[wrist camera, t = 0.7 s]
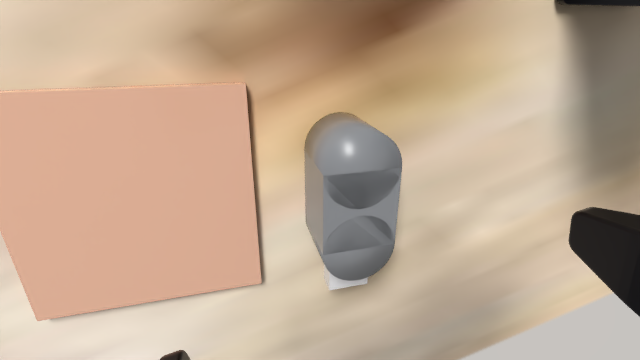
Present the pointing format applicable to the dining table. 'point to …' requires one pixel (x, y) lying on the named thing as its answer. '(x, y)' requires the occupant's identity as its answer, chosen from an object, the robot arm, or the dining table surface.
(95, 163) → the plate
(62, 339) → the dining table surface
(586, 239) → the robot arm
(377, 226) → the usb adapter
